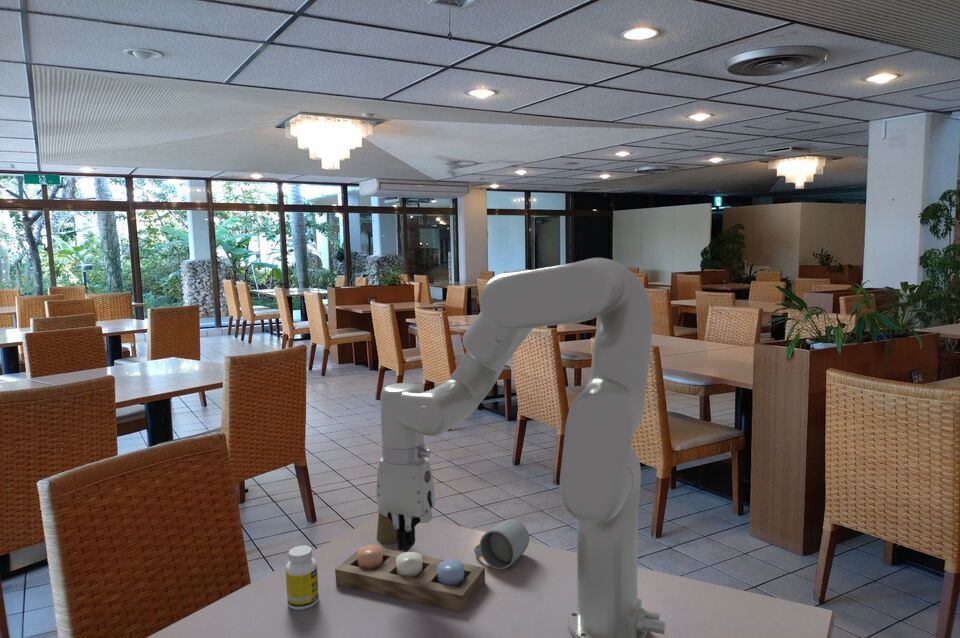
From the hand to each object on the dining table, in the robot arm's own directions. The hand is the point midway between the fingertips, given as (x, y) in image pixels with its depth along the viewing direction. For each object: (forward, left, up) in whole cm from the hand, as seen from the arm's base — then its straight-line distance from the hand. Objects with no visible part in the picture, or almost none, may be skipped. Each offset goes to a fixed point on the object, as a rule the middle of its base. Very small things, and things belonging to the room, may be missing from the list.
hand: (406, 547), depth 122 cm
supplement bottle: (+15, +12, -7) cm, 20 cm away
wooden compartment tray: (0, 0, -7) cm, 7 cm away
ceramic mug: (-13, -14, -7) cm, 20 cm away
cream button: (-1, 0, -5) cm, 5 cm away
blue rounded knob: (-9, 0, -5) cm, 10 cm away
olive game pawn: (+13, -15, -7) cm, 21 cm away
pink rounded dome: (+8, 0, -5) cm, 9 cm away
